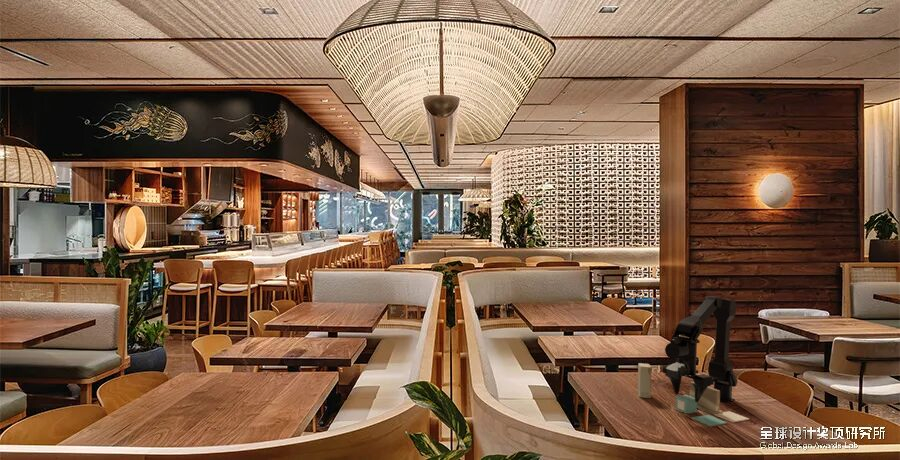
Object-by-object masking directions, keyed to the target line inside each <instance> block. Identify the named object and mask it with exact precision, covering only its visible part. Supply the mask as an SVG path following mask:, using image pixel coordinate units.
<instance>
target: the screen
mask: <svg viewBox="0 0 900 460" xmlns="http://www.w3.org/2000/svg"><path fill="white" fill-rule="evenodd" d="M693 384H695V383H694V382H693V381H690V382H689V396H691V397H694V398H695V387H694V386H693ZM720 403H721V401H720V390H717V389H714V387H711V386H708V387H707V388H706V390H705V391H704V393H703V394H702V396H701V398H700V399H699V401H698V402H697V408H698V410H700V411H703V412H705V413H708V414H711V415H712V416H715V415H714V414H719V413H723V412H724V411H723V410H721V409H720V405H721V404H720Z"/></svg>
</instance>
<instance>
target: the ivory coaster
mask: <svg viewBox="0 0 900 460" xmlns="http://www.w3.org/2000/svg"><path fill="white" fill-rule="evenodd" d="M713 416H714V417H718V418H719V419H723V420H726V421H728V422H731V423H738V422H743V421H749V420H750V418H749V417H746V416H744V415H741V414H738V413H735V412H732V411H731V410H727V411H723V413H719V414H714V415H713Z"/></svg>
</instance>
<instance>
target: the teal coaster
mask: <svg viewBox="0 0 900 460" xmlns="http://www.w3.org/2000/svg"><path fill="white" fill-rule="evenodd" d="M691 419H692V420H693V421H696V422H698V421H699V422H698V423H701V424H703V425H706V426H708V427H715V426H721V425H727V424H728V422H726V421H724V420H722V419H721V418H717V417H716V416H713V415H709V414H705V415H697V416H692V417H691Z"/></svg>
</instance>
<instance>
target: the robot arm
mask: <svg viewBox="0 0 900 460" xmlns="http://www.w3.org/2000/svg"><path fill="white" fill-rule="evenodd" d="M737 310H738V305H737V303H736V302H735V300H734V299H731V298H729V299H728V298H723V297H722V298H721V297H718V296H713V295H708V296H706V297H705V298H704V301H702V303H701V304H700V305H699V306H698V307H697V309H696V310H695V311H694V312H693V313H692V314H691V315H690V316H687V317H684V318H683V319H681V320H680V321H679V322H678V323H677V325H676V327H675V328H674V329H675V330H674V332H673V334H672V336H671V339H670V342H669V343H667V344H666V345H665V348H664V353H665V355H666V356H667V358H669V359H670V360H675V363H672V364H664V365H663V367H662V374H665V377H667V378H668V379H669V381H670V382H671V385H672V387H673V388H672V389H673V391H674V394H675V395H676V396H678V395H679V392H680V388H681V383H682V378H683V377H685V378H688V379H691V380H692V382H694V383H695V384H693V386H694V387H695V402H698V401H699V399H700V398H701V396H702V394H703V393H704V391H705V390H706V388H707V387H711V386H713V388H714V389H717V390H720V402H723V403H726V402H727V403H728V402H734V401H736V399H735V398H733V397H732V396H733V395H732V393H733V392H732V391H733V387H734V388H735V387H737V384H738V378H737V377H736V375H735V373H734V370H733V369H734V367H733V366H734V365H732V362H731V361H730V359H729V355H730V353H729V352H730V338H731V337H730V336H731V334H730V333H731V322H732V320H734V318H735V316H736V314H737V313H736V312H737ZM712 315H713V317H714V318H715V319H714V320H716V323H715V324H716V325H715V340H714V341H715V345H714V357H713V358H712V360H710V361H709V362H708V370H707V373H708V374H705V373H703V374H702V373H701V374H699V370H697V363H699V361H700V359H699V358H697V349H698V347H697V345H698V344H700V343H701V341H700V339H699V337H700V336H701V334H702V332H703V326H704V324H705V323H706V321H708V319H710V317H711V316H712Z"/></svg>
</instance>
